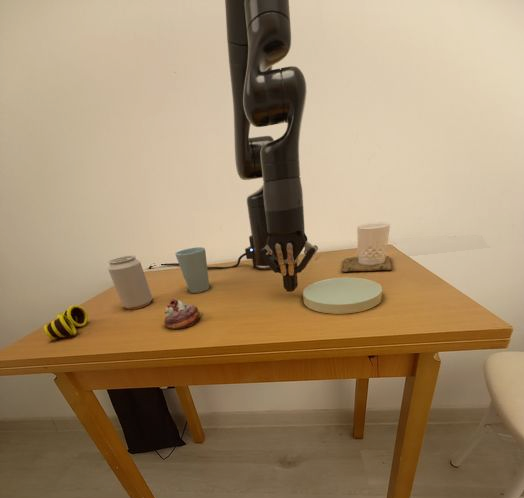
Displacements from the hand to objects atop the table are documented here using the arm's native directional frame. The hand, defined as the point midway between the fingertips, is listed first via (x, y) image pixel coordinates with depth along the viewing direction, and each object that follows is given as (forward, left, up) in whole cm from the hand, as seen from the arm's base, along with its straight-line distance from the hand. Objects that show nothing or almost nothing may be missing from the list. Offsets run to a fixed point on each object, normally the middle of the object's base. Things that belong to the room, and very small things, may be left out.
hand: (290, 290), depth 66 cm
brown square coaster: (+13, +24, -1) cm, 28 cm away
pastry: (-19, -16, -2) cm, 25 cm away
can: (-39, -9, -2) cm, 40 cm away
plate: (+11, 0, -2) cm, 11 cm away
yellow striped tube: (-44, -25, -2) cm, 50 cm away
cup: (-28, +3, -2) cm, 28 cm away
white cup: (+14, +25, -2) cm, 29 cm away
